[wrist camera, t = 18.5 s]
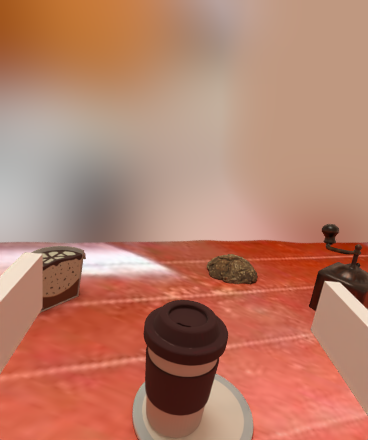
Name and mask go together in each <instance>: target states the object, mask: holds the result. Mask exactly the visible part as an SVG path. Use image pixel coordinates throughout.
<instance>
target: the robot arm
mask: <svg viewBox="0 0 368 440" xmlns="http://www.w3.org/2000/svg"><path fill="white" fill-rule="evenodd" d="M42 302H43V254H38V253H27V252H25V253H24V254H22V255H21V256H20V257H19V258H18V259H17V260H16V261H15V262H14V263H13V264H12V265H11V266H10V267H9V268H8V269H7V270H6V271H5V272H4V273H3V274H2V275H1V276H0V373H1V372H2V370H3V369H4V367H5V366H6V364H7V363H8V361H9V359H10V358H11V356H12V355H13V353H14V352H15V350H16V348H17V347H18V345H19V344H20V342H21V341H22V339H23V337H24V336H25V334H26V333H27V331H28V330H29V328H30V327H31V325H32V323H33V322H34V320H35V319H36V317H37V316H38V314H39V312H40V311H41V309H42ZM311 331H312V333H313V334H314V336H315V337H316V339H317V340H318V342H319V343H320V345H321V346H322V348H323V349H324V351H325V352H326V354H327V355H328V357H329V358H330V360H331V361H332V363H333V364H334V366H335V367H336V369H337V370H338V372H339V373H340V375H341V376H342V378H343V379H344V381H345V382H346V384H347V385H348V387H349V388H350V390H351V391H352V393H353V394H354V396H355V397H356V399H357V400H358V402H359V403H360V405H361V406H362V408H363V409H364V411H365V412H366V414H367V415H368V309H366V308H365V307H364V306H363V305H362V304H361V303H360V302H359V301H358V300H357V299H356V298H355V297H354V296H353V295H352V294H351V293H350V292H349V291H348V290H347V289H346V288H345V287H344V286H343V285H342V284H341V283H340V282H330V281H324V285H323V288H322V292H321V295H320V299H319V302H318V306H317V309H316V313H315V316H314V320H313V323H312V327H311Z"/></svg>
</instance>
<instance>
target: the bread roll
mask: <svg viewBox="0 0 368 440" xmlns="http://www.w3.org/2000/svg"><path fill="white" fill-rule="evenodd" d="M207 268H208V269H209V274H210V276H211V277H212V278H215V279H218V280H223V281H224V282H227V283H233V284H241V283H245V284H252V283H255V282H256V281H257V272H256V271H255V270H254V268H253V267H252V265H251V264H250V263H249V262H248V261H247V260H245V259H243V258H242V257H240V256H237V255H233V254H231V255H230V254H228V255H222V256H218V257H216V258H214V259H212V260H211V261H210V262H208V265H207Z"/></svg>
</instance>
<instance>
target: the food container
mask: <svg viewBox="0 0 368 440" xmlns="http://www.w3.org/2000/svg"><path fill="white" fill-rule="evenodd" d="M32 253H38V254H43V302H42V309H41V311H40V312H39V313H41V312H43V311H46V310H48V309H50V308H52V307H55V306H57V305H59V304H62V303H64V302H66V301H69V300H71V299H73V298H75V297H78V295H79V288H80V280H81V272H82V265H83V259H86V257H85V253H84V250H82V249H79V248H75V247H69V246H52V247H46V248H41V249H38V250H36V251H33V252H32Z"/></svg>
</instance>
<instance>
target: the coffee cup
mask: <svg viewBox="0 0 368 440" xmlns="http://www.w3.org/2000/svg"><path fill="white" fill-rule="evenodd" d="M227 339H228V331H227V328H226V326H225V324H224V323H223V321H222V320H221V319H220V318H218V317H217V316H216V315H215V314H214V312H213V311H212V310H211V309H209V308H208V307H207V306H205V305H203V304H201V303H198V302H194V301H189V300H176V301H172V302H169V303H167V304H165V305H164V306H163V307H160V308H157V309H156V310H154V311H153V312H151V313H150V314H149V315H148V317H147V318H146V321H145V326H144V340H145V342H146V344H147V348H146V372H145V391H146V415H147V419H148V422H149V423H150V425H151V427H152V428H153V429H154V430H155V431H157V432H158V433H160V434H161V435H164V436H166V437H170V438H181V437H185V436H188V435H190V434H192V433H193V432H194V431H195V430H196V429H197V428H198V426H199V424H200V422H201V419H202V415H203V412H204V408H205V405H206V403H207V401H208V399H209V396H210V392H211V389H212V385H213V381H214V378H215V374H216V370H217V367H218V363H219V357H220V356H221V355H222V354H223V353H224V351H225V348H226V344H227Z"/></svg>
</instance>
